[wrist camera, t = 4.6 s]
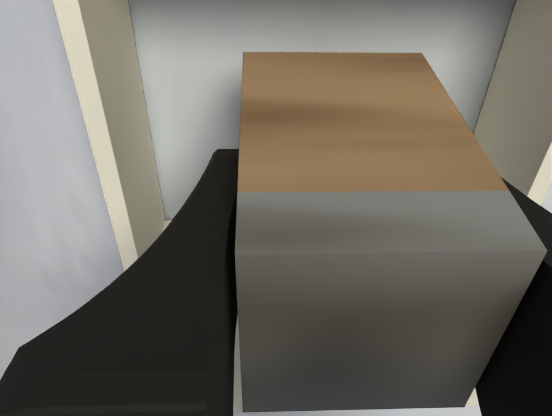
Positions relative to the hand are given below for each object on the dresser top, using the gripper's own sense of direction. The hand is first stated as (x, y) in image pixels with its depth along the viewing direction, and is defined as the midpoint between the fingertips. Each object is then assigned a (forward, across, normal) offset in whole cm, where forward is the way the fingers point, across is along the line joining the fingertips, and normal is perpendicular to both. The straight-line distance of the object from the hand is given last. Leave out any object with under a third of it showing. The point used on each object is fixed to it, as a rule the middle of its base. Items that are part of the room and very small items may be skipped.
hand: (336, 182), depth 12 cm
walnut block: (+2, 0, 0) cm, 2 cm away
